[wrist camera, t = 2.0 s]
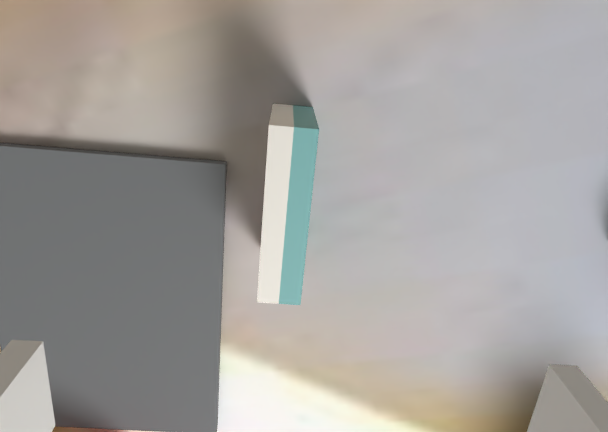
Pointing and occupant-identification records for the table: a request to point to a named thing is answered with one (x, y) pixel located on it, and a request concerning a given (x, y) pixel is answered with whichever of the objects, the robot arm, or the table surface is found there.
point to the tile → (287, 203)
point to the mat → (116, 282)
